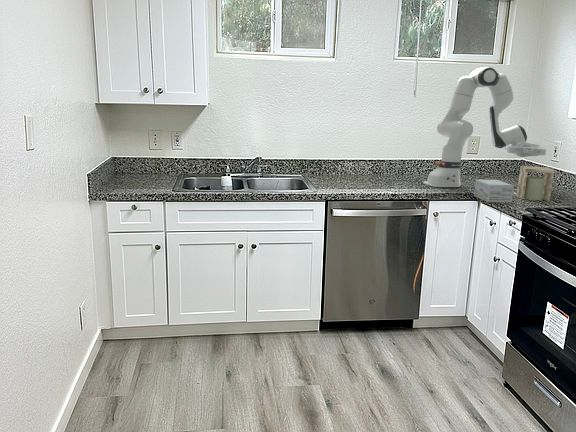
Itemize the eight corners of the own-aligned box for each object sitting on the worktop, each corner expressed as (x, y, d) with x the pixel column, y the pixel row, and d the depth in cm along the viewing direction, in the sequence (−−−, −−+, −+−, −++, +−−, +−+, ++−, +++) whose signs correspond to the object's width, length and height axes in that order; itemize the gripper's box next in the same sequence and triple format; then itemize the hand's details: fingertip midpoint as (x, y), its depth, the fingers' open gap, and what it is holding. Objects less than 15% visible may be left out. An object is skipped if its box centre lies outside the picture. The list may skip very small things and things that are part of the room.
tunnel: (509, 190, 293) (513, 162, 289) (534, 192, 291) (539, 163, 287) (521, 199, 269) (526, 168, 265) (549, 201, 267) (554, 170, 263)
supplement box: (512, 203, 261) (514, 185, 258) (487, 202, 260) (489, 184, 257) (496, 196, 277) (499, 179, 275) (473, 195, 276) (475, 178, 274)
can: (520, 196, 277) (523, 174, 274) (537, 197, 276) (540, 175, 274) (526, 200, 268) (530, 177, 265) (544, 201, 268) (548, 178, 265)
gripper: (504, 142, 296) (511, 144, 283) (541, 145, 293) (550, 147, 280) (503, 153, 297) (509, 156, 284) (540, 156, 295) (548, 158, 281)
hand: (530, 151), depth 282 cm, fingers closed
